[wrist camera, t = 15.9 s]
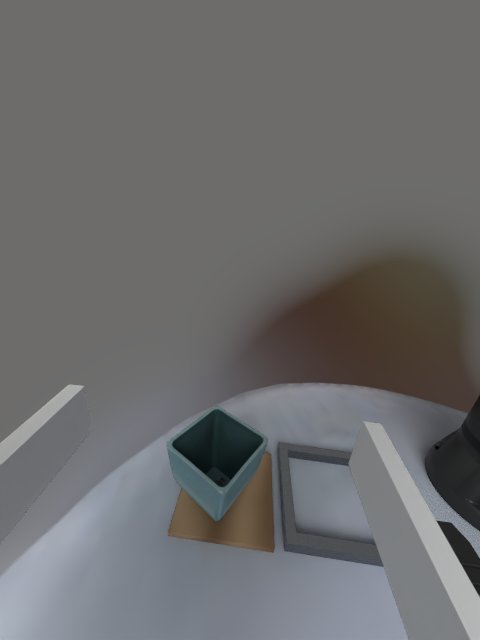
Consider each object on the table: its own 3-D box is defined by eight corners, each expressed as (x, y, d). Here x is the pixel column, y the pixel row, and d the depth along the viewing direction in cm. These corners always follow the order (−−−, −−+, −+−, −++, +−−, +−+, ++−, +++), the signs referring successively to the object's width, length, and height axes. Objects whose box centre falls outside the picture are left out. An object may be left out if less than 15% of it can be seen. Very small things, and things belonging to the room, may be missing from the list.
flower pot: (212, 449, 38) (216, 403, 35) (260, 486, 33) (270, 438, 30) (165, 494, 31) (164, 443, 28) (217, 549, 27) (223, 495, 23)
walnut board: (270, 457, 39) (270, 453, 38) (273, 552, 28) (274, 548, 27) (195, 446, 39) (195, 442, 39) (168, 535, 28) (168, 531, 28)
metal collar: (360, 461, 40) (363, 454, 39) (405, 570, 27) (410, 562, 27) (277, 449, 40) (279, 442, 40) (284, 551, 28) (286, 543, 27)
